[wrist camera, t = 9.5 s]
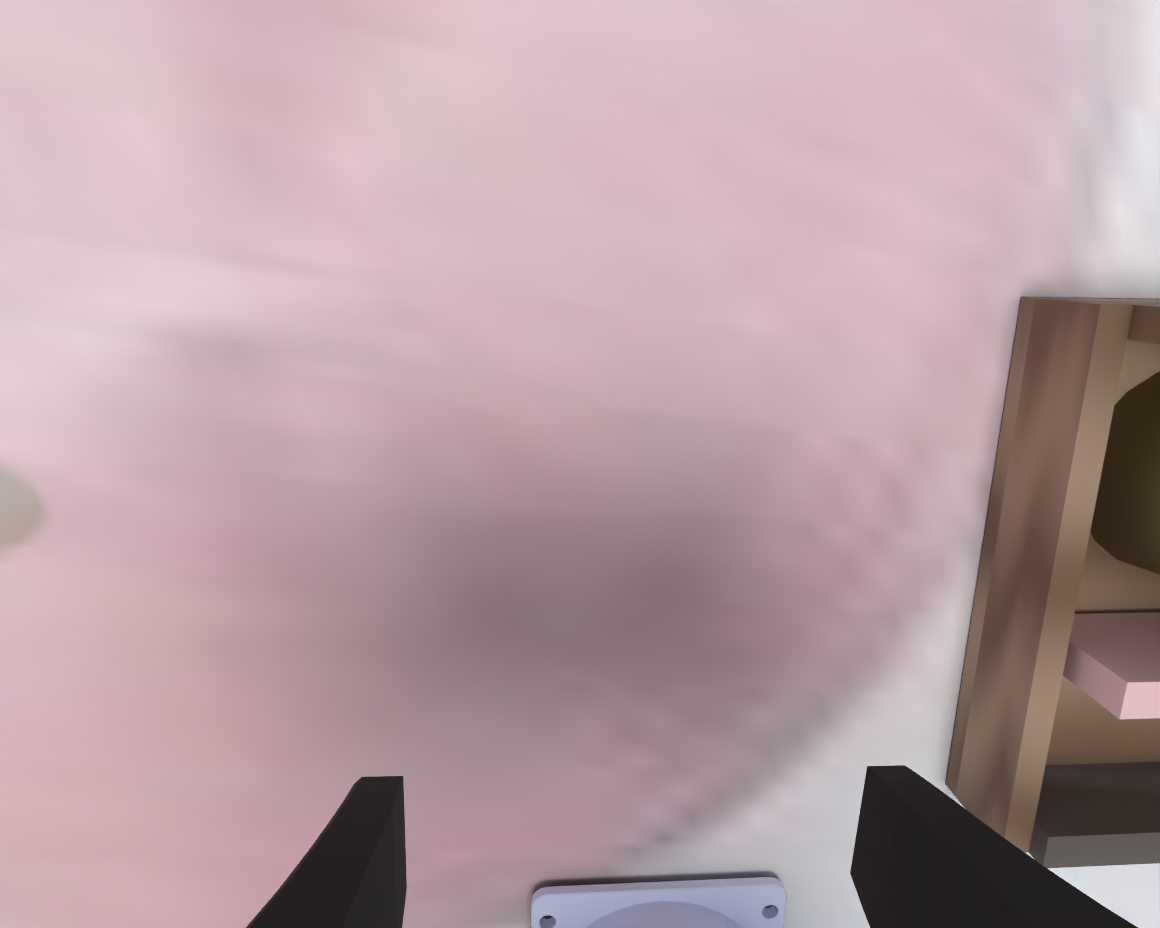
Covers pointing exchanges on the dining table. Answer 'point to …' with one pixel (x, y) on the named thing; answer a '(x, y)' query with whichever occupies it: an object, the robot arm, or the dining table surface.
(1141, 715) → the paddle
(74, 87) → the dining table surface
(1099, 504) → the olive bulbous piece
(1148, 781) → the open box
